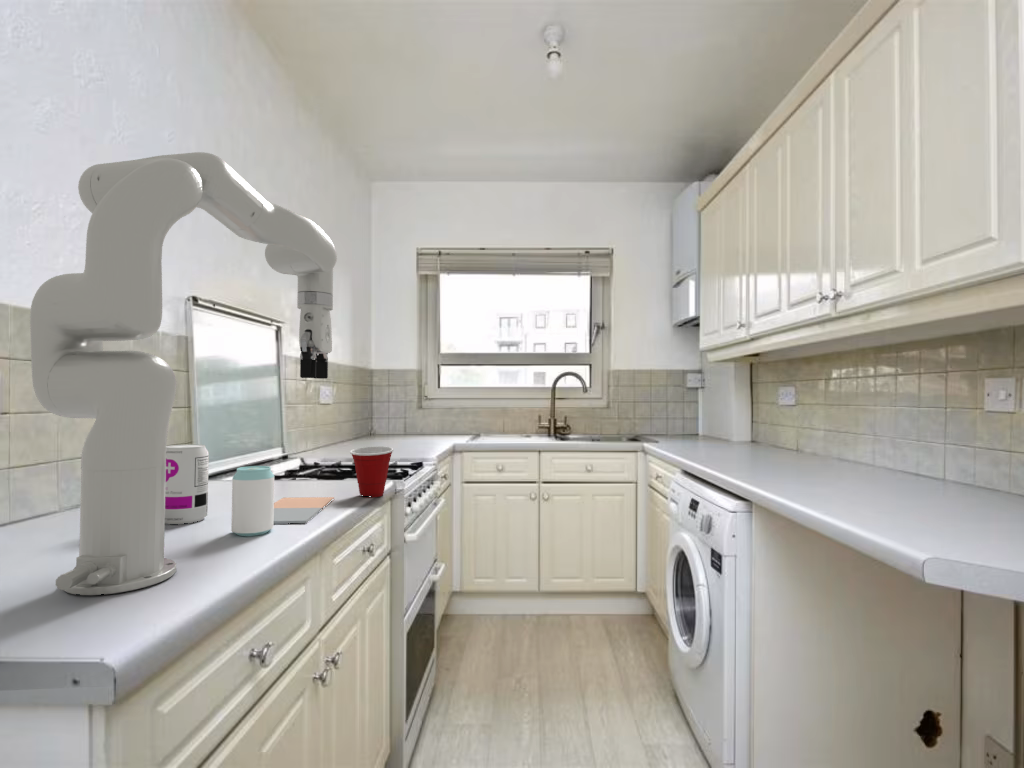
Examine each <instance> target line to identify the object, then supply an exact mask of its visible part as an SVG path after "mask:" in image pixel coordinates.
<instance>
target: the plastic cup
mask: <svg viewBox="0 0 1024 768" xmlns="http://www.w3.org/2000/svg"><path fill="white" fill-rule="evenodd" d="M393 452H394V448H393V447H390V446H378V445H376V446H366V447H365V446H364V447H358V448H353V449H351V450H349V453H350V454H351V456H352V460H353V463H354V467H355V475H356V479H357V486H358V492H359V496H360V495H363V496H372V497H371V498H378V497H382V496H384V492H385V487H386V482H387V479H388V473H389V467H390V462H391V458H392V453H393Z"/></svg>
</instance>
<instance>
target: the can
mask: <svg viewBox="0 0 1024 768" xmlns="http://www.w3.org/2000/svg"><path fill="white" fill-rule="evenodd" d="M271 469H272V467H271V466H269V465H250V466H240V467H237V468H236V472H235V474H234V475H233V477H232V479H231V480H232V483H231V484H232V485H231V529H230V531H231V533H233V534H235V535H236V536H239V537H255V536H260V535H264V534H267V533H269V531H271V530H272V529H273V528H274V524H273V521H274V503H275V474H274V473H273V472H272V470H271Z"/></svg>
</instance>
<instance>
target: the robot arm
mask: <svg viewBox="0 0 1024 768" xmlns="http://www.w3.org/2000/svg"><path fill="white" fill-rule="evenodd" d="M77 188H78V194H79V197H80V200H81V202H82V204H83V205H84V206H85V208H86V209H87V211H89V212H90V213H91V216H90V218H89V221H88V224H87V228H86V229H87V231H86V240H85V241H86V243H85V262H84V263H85V264H84V271H83V272H74V273H64V274H60V275H55V276H53V277H51V278H49V279H48V280H47V279H46V281H44V282H43V283H42V284H41V285H40V286H39V287H38V289H37V290H36V292H35V293H34V296H33V298H32V301H31V305H30V314H29V318H30V320H29V321H30V322H29V324H30V326H29V327H30V357H31V359H30V360H31V361H30V362H31V365H30V366H31V379H32V386H33V387H32V388H33V391H34V394H35V396H36V399H37V400H38V402H39V404H40V405H41V406H42V407H43V408H44V409H45V410H46V411H48V412H50V413H51V414H53V415H55V416H59V417H63V418H67V419H68V418H70V419H89V420H90V419H92V420H93V419H94V422H93V425H92V427H91V429H90V430H89V432H88V434H87V436H86V438H85V441H84V443H83V445H82V446H83V447H82V451H81V460H80V461H81V463H80V469H81V474H80V475H81V477H80V508H79V509H80V514H79V515H80V517H79V547H78V548H79V551H78V553H79V554H78V556H77V557H76V559H75V560H76V563H75V567H74V568H73V569H71V570H69V571H67V572H64V573H63V574H60V575H59V576H57V578H56V579H55V586H56V588H57V589H59V590H60V591H65V592H66V593H68V594H71V595H76V594H80V595H79V596H100V595H101V594H104V595H112V594H119V593H125V592H131V591H135V590H139V589H143V588H146V587H151V586H153V585H156V584H159V583H162V582H164V581H166V580H168V579H169V578H171V577H173V576H174V575H175V574H176V573H177V562H175V560H173V559H171V558H165V529H166V528H165V527H166V526H165V525H166V524H165V490H166V446H168V444H167V442H168V430H169V423H170V420H171V419H170V418H171V415H172V410H173V406H174V402H175V399H176V394H177V378H176V375H175V372H174V370H173V368H172V367H171V366H170V364H169V363H168V362H166V361H165V359H162V358H161V357H159V356H157V355H156V354H152V353H150V352H145V351H139V350H103V349H104V342H122V341H123V342H125V341H127V342H129V341H138V340H139V341H140V340H144V339H148V338H151V337H152V336H153V335H155V334H156V333H157V332H158V330H160V327H161V324H162V318H163V277H162V276H163V274H162V273H163V272H162V271H163V270H162V268H163V267H162V263H163V262H162V259H163V246H164V245H163V244H164V241H165V238H166V236H167V234H168V233H169V230H170V229H171V228H172V227H173V226H174V224H176V223H177V222H178V221H179V220H181V219H182V218H184V217H186V216H188V215H190V214H191V213H193V212H194V210H196V208H199V209H201V210H203V211H205V212H206V213H207V214H209V215H210V216H212V217H213V218H214V219H215V220H217V221H218V222H219V223H220V224H221V225H223V226H224V227H225V228H227V229H228V230H229V231H231V232H232V233H233V234H235V235H236V236H237V237H239V238H241V239H244V240H247V241H249V242H250V241H252V242H255V243H259V244H265V245H266V247H265V250H264V258H265V260H266V262H267V265H268V266H269V267H270V268H271V269H272V270H274V271H276V272H277V273H279V274H283V275H289V276H296V277H297V299H296V300H297V304H296V305H297V307H296V308H297V309H299V310H300V314H299V330H298V331H299V332H298V333H299V334H298V335H299V336H298V337H299V338H298V339H299V340H298V341H299V345H298V346H299V351H300V355H299V359H300V360H299V361H300V362H299V368H300V369H299V377H300V379H323V380H324V379H325V380H326V379H328V377H329V354H330V353H332V352H333V340H332V339H333V336H332V335H333V334H332V317H331V312H332V311H333V310H334V309H333V305H334V304H333V303H334V300H333V297H334V268H335V266H336V263H337V260H338V253H337V250H336V246H335V245H334V242H333V241H332V239H331V238H330V236H329V235H328V234H327V233H325V231H324V230H323V229H322V228H321V227H320V226H319V225H317V224H316V223H315V222H314V221H312V220H311V219H309V218H307V217H305V216H303V215H301V214H299V213H296V212H295V211H292V210H289V209H287V208H285V207H283V206H281V205H278V204H276V203H272V202H270V201H268V200H266V199H265V198H264V197H263V196H262V195H261V194H260V193H259V192H258V191H256V189H255V188H254V187H252V186H251V184H249V183H248V182H247V181H246V180H245V179H244V177H242V176H241V175H240V174H239V173H238V171H236V170H235V169H233V167H231V166H230V165H229V164H228V163H227V162H226V161H225V160H224V159H223V158H221V157H220V156H218V155H215V154H212V153H210V152H203V151H201V152H200V151H197V152H184V153H176V154H175V153H174V154H172V153H171V154H162V155H155V156H149V157H145V158H144V157H143V158H139V159H131V160H123V161H115V162H106V163H105V162H104V163H97V164H93V165H91V166H90V167H87V168H86V170H84V171H83V172H82V174H81V175H80V178H79V180H78V187H77ZM101 596H102V595H101Z"/></svg>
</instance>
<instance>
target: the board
mask: <svg viewBox="0 0 1024 768" xmlns="http://www.w3.org/2000/svg"><path fill="white" fill-rule="evenodd" d="M332 499H334V500H335V496H327V497H326V496H325V497H322V496H317V497H314V496H312V497H311V496H310V497H306V496H305V497H282V498H281V499H278V500H277V501H274V521H273V525H289V524H290V523H306V524H308V523H309V522H310V521H311V520H312V519H313V518H315V517H316V516H317V515H318V514H319V513H320V512H321V511H320V510H321V509H322V508H323V507H324V506H326V505H327V504H328V503H329V502H330V501H331V500H332ZM327 506H328V505H327ZM327 506H326V507H327ZM319 511H320V512H319ZM318 512H319V513H318ZM317 513H318V514H317ZM316 514H317V515H316ZM315 515H316V516H315ZM314 516H315V517H314ZM312 517H313V518H312ZM311 518H312V519H311ZM310 519H311V520H310ZM309 520H310V521H309ZM308 521H309V522H308ZM307 522H308V523H307ZM288 523H289V524H288ZM290 525H291V524H290Z"/></svg>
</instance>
